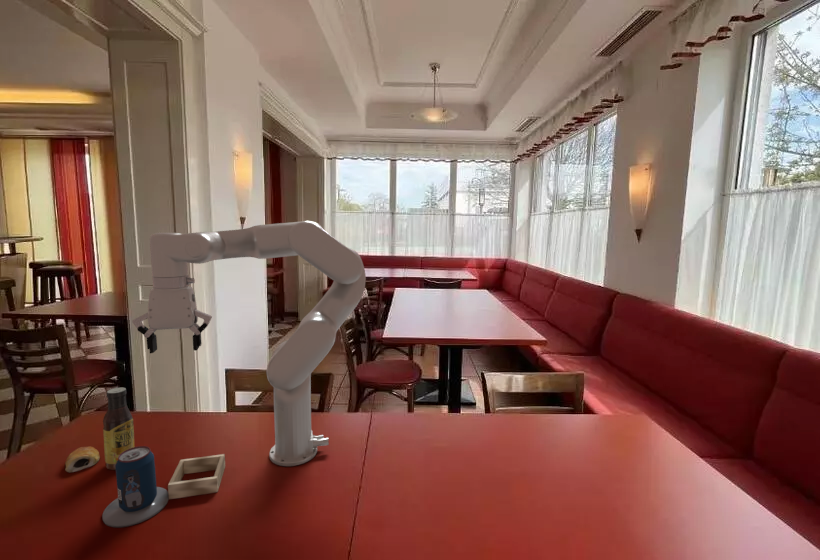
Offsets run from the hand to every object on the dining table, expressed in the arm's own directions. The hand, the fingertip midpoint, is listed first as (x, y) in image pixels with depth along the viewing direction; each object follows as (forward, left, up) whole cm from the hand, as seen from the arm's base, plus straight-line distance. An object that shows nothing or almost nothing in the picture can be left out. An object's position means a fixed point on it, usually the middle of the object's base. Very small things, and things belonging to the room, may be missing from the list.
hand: (175, 350), depth 99 cm
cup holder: (-6, +10, -30) cm, 32 cm away
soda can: (+5, +16, -30) cm, 34 cm away
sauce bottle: (+15, -3, -31) cm, 34 cm away
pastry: (+25, -6, -31) cm, 40 cm away
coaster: (+5, +16, -30) cm, 35 cm away
